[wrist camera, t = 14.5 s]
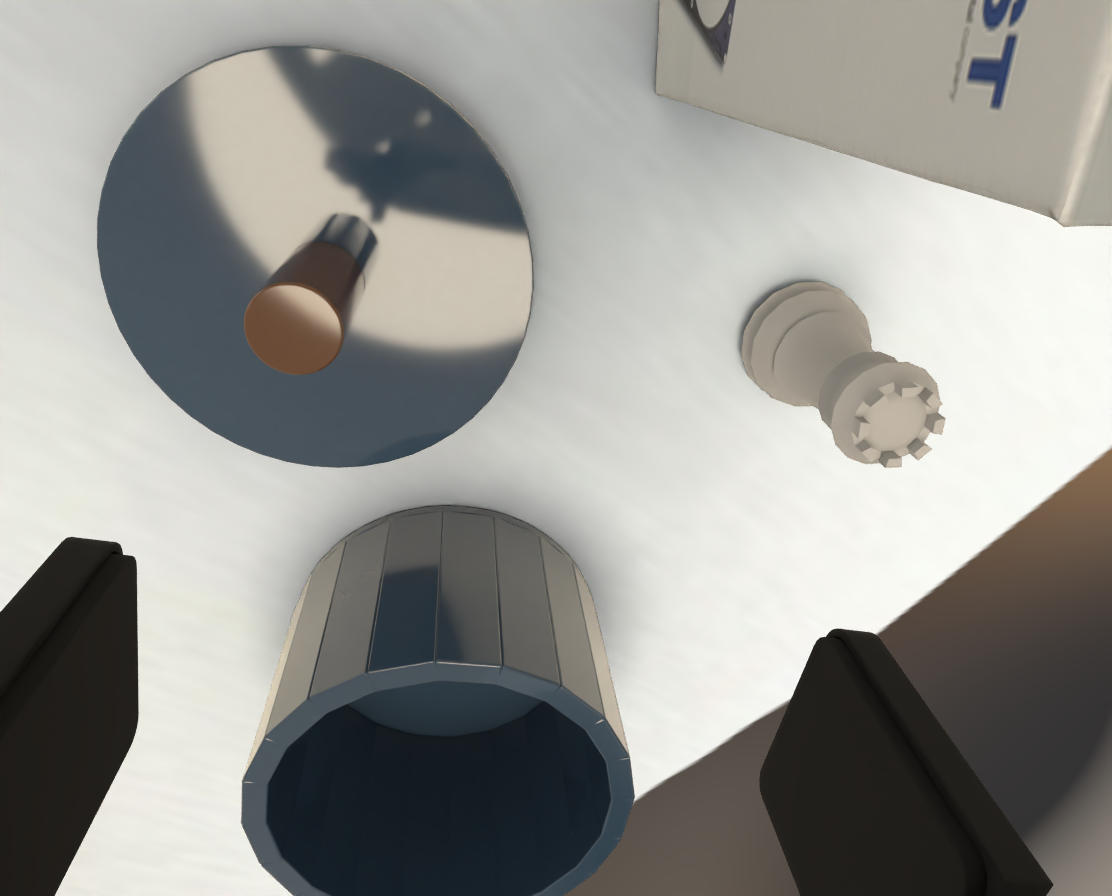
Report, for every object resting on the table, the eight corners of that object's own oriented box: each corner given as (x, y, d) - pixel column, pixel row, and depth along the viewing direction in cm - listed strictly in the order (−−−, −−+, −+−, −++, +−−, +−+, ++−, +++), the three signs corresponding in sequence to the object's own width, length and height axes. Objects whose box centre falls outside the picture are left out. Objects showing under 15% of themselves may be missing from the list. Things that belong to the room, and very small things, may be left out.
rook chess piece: (872, 350, 30) (1000, 443, 23) (769, 414, 31) (861, 523, 24) (824, 252, 28) (947, 321, 21) (715, 323, 29) (798, 412, 22)
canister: (303, 488, 30) (244, 646, 22) (622, 522, 32) (673, 678, 24) (289, 731, 35) (238, 930, 27) (564, 747, 38) (591, 935, 30)
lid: (98, 1, 23) (-21, -16, 17) (564, 94, 25) (592, 106, 19) (122, 429, 28) (39, 520, 23) (499, 472, 31) (506, 565, 25)
